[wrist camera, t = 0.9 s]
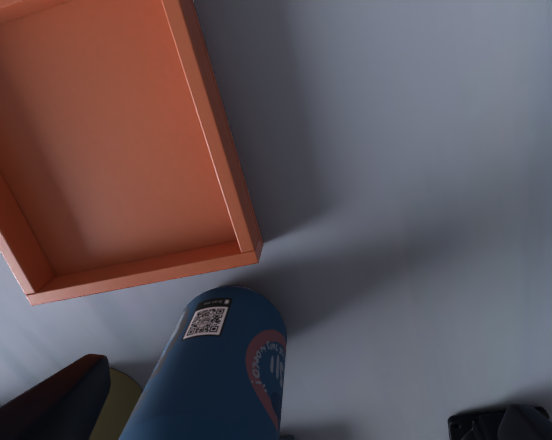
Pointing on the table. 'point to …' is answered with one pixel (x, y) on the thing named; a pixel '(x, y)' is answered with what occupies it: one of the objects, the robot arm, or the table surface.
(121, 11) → the terracotta tray
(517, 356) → the table surface
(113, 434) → the olive game pawn
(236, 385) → the soda can
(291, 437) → the grey tray
